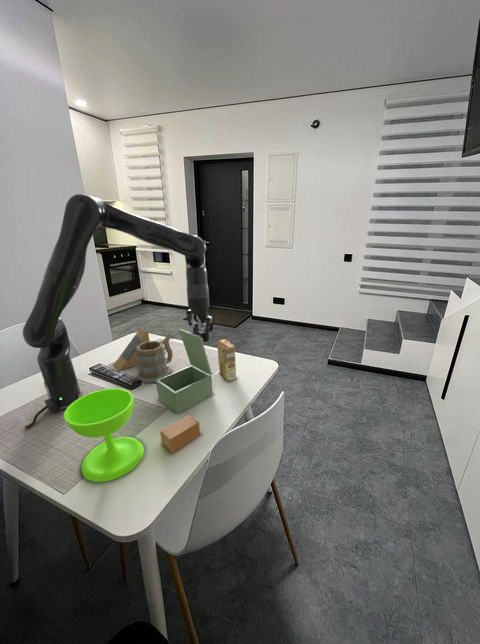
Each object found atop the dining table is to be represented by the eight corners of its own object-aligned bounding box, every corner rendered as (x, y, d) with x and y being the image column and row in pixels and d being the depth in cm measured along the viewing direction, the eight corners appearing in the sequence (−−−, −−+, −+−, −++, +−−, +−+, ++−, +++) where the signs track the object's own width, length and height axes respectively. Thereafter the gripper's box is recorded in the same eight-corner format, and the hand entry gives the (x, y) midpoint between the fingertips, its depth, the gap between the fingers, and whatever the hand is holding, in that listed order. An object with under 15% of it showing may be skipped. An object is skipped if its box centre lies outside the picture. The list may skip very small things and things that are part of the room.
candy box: (236, 378, 121) (235, 345, 115) (227, 381, 119) (226, 348, 113) (227, 370, 128) (225, 338, 122) (218, 372, 125) (216, 340, 120)
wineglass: (115, 432, 90) (103, 383, 84) (156, 446, 85) (146, 395, 78) (67, 471, 77) (48, 416, 70) (112, 490, 71) (96, 432, 65)
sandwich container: (113, 364, 133) (106, 334, 128) (146, 354, 143) (141, 326, 137) (119, 370, 127) (112, 339, 122) (152, 360, 137) (148, 331, 131)
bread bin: (177, 413, 99) (174, 393, 96) (158, 399, 107) (155, 380, 104) (212, 394, 110) (211, 375, 107) (193, 382, 118) (191, 365, 115)
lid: (199, 338, 98) (210, 331, 101) (178, 329, 106) (189, 323, 109) (210, 375, 106) (220, 368, 110) (190, 364, 114) (200, 358, 117)
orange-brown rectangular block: (172, 452, 83) (170, 439, 81) (162, 443, 86) (159, 430, 84) (200, 434, 89) (198, 421, 88) (190, 426, 93) (188, 414, 91)
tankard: (151, 385, 116) (146, 352, 110) (132, 377, 122) (125, 345, 116) (187, 365, 131) (184, 335, 126) (168, 359, 138) (164, 330, 132)
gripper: (177, 293, 103) (181, 337, 109) (201, 300, 94) (205, 347, 100) (194, 290, 108) (197, 332, 114) (219, 296, 99) (221, 341, 105)
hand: (201, 339), depth 107 cm, fingers closed on lid, 5 cm apart
